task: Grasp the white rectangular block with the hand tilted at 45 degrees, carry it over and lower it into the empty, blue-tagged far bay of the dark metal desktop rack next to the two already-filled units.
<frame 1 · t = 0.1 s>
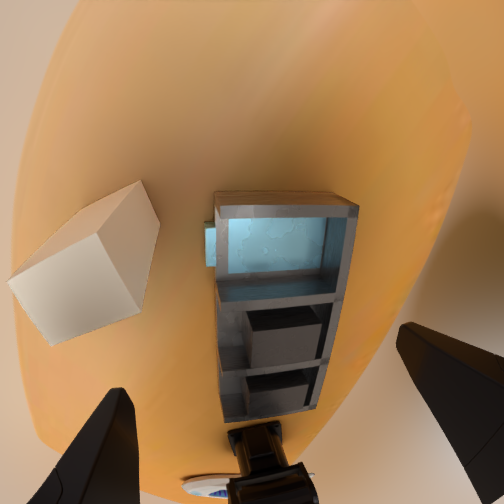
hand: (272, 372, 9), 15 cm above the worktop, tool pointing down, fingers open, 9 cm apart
rack: (268, 309, 26), on the worktop
white rectangular block: (119, 216, 20), on the worktop
white toy boat: (251, 475, 39), on the worktop
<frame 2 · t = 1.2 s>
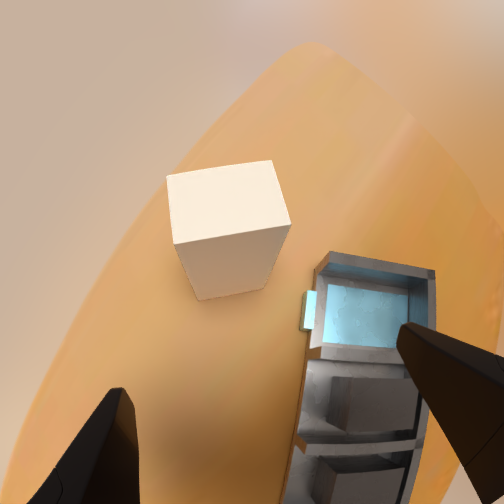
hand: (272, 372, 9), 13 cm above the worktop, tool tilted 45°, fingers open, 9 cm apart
rack: (355, 399, 20), on the worktop
white rectangular block: (226, 273, 23), on the worktop
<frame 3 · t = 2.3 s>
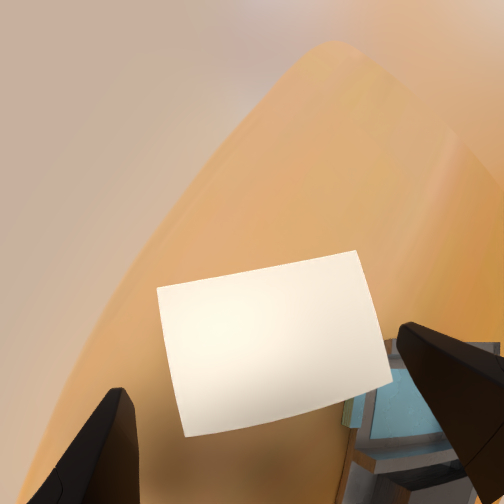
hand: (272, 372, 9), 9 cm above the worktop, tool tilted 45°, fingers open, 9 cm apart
rack: (397, 487, 14), on the worktop
white rectangular block: (248, 358, 17), on the worktop
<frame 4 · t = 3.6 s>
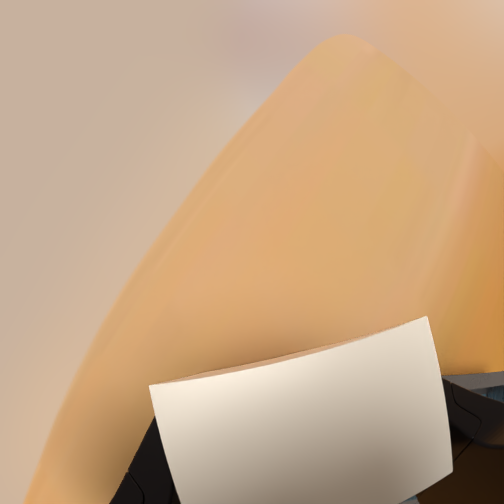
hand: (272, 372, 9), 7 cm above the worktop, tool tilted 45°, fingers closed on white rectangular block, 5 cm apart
white rectangular block: (259, 395, 14), on the worktop, touching gripper
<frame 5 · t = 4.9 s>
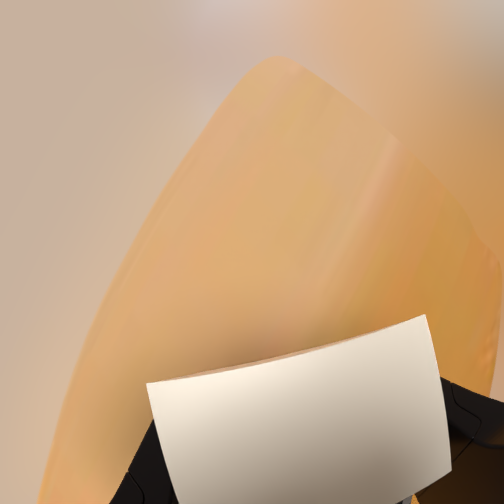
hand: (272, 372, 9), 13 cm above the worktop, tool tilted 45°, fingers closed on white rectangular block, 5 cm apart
white rectangular block: (259, 394, 14), point 7 cm above the worktop, touching gripper
when the fingers open (8 cm above the worktop, at t = 6.9 s): white rectangular block stays where it is, resting on rack.
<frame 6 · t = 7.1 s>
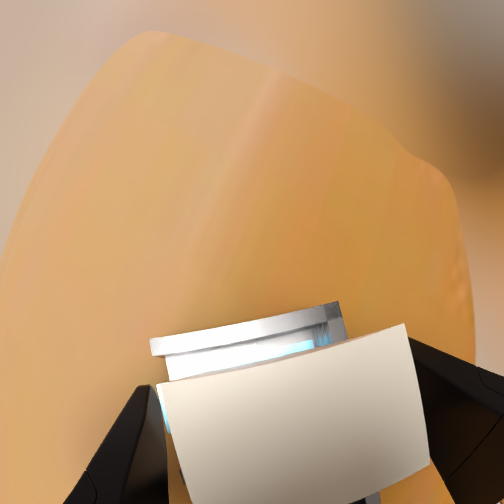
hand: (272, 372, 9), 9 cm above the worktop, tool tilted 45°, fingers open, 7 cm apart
rack: (279, 485, 14), on the worktop
white rectangular block: (258, 393, 15), point 1 cm above the worktop, touching rack
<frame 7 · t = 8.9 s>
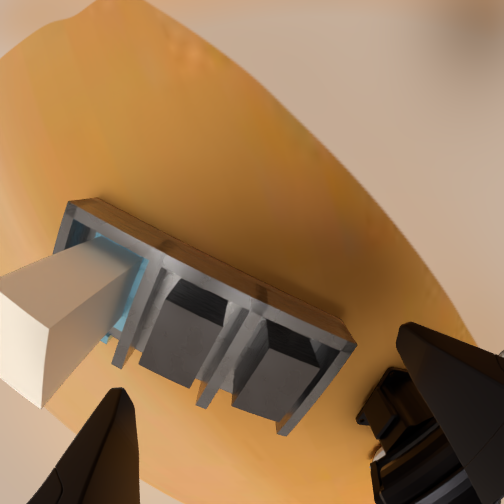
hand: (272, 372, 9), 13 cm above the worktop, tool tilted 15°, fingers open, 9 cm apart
rack: (192, 313, 22), on the worktop
white rectangular block: (110, 278, 20), point 1 cm above the worktop, touching rack
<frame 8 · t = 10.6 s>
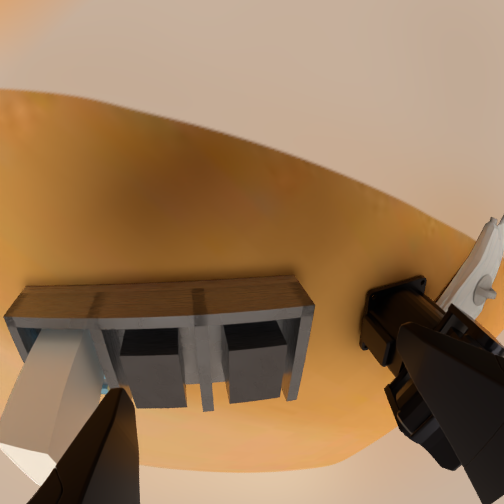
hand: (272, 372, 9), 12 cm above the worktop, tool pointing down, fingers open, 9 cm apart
rack: (158, 335, 21), on the worktop
white rectangular block: (76, 345, 19), point 1 cm above the worktop, touching rack
white toy boat: (451, 287, 27), on the worktop
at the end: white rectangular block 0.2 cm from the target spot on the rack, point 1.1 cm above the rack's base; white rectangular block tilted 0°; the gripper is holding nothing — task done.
